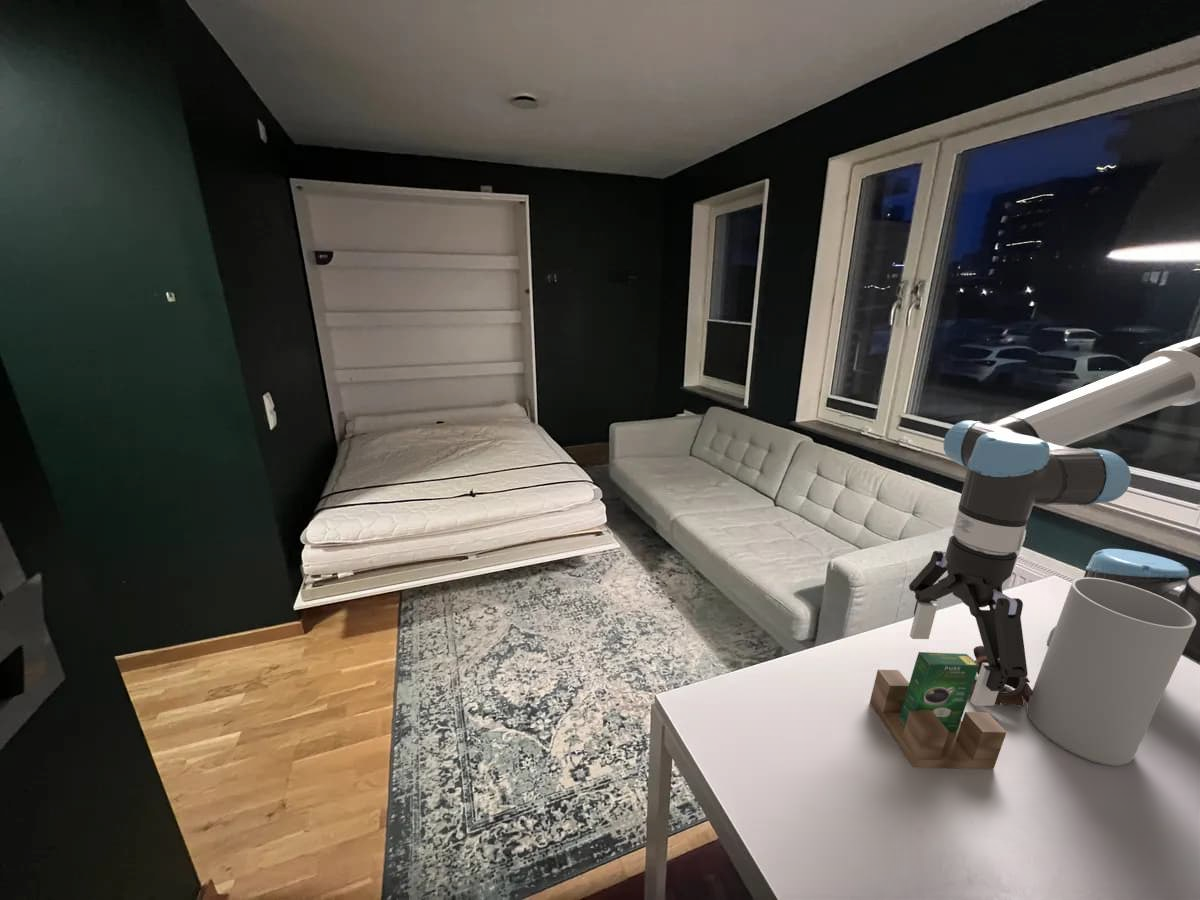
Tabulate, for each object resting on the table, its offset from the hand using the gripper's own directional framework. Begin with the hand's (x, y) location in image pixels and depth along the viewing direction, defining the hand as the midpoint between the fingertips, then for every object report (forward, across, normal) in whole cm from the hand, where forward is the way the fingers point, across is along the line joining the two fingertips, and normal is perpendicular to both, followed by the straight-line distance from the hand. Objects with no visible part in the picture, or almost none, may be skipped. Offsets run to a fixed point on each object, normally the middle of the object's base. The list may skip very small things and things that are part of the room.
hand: (947, 667), depth 73 cm
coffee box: (+12, 0, 0) cm, 12 cm away
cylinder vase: (+13, -1, +25) cm, 28 cm away
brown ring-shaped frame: (+13, -9, +18) cm, 24 cm away
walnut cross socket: (+13, 0, 0) cm, 13 cm away
